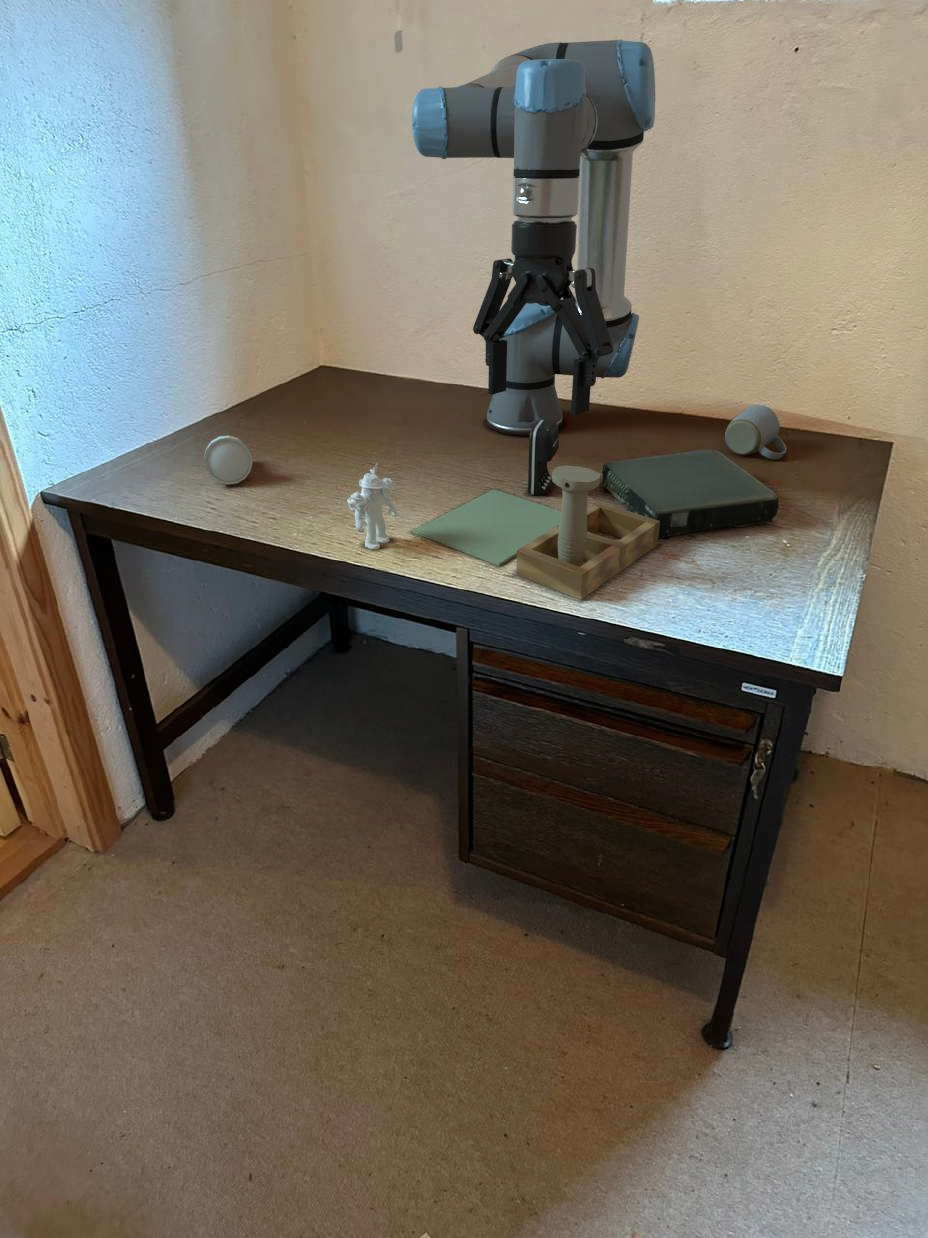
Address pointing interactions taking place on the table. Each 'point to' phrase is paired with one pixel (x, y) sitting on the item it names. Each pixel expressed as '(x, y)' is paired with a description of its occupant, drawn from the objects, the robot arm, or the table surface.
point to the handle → (574, 510)
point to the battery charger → (541, 455)
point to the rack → (589, 551)
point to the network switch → (690, 491)
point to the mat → (492, 526)
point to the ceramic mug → (755, 433)
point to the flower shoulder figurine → (372, 507)
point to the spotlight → (228, 460)
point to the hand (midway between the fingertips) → (537, 402)
